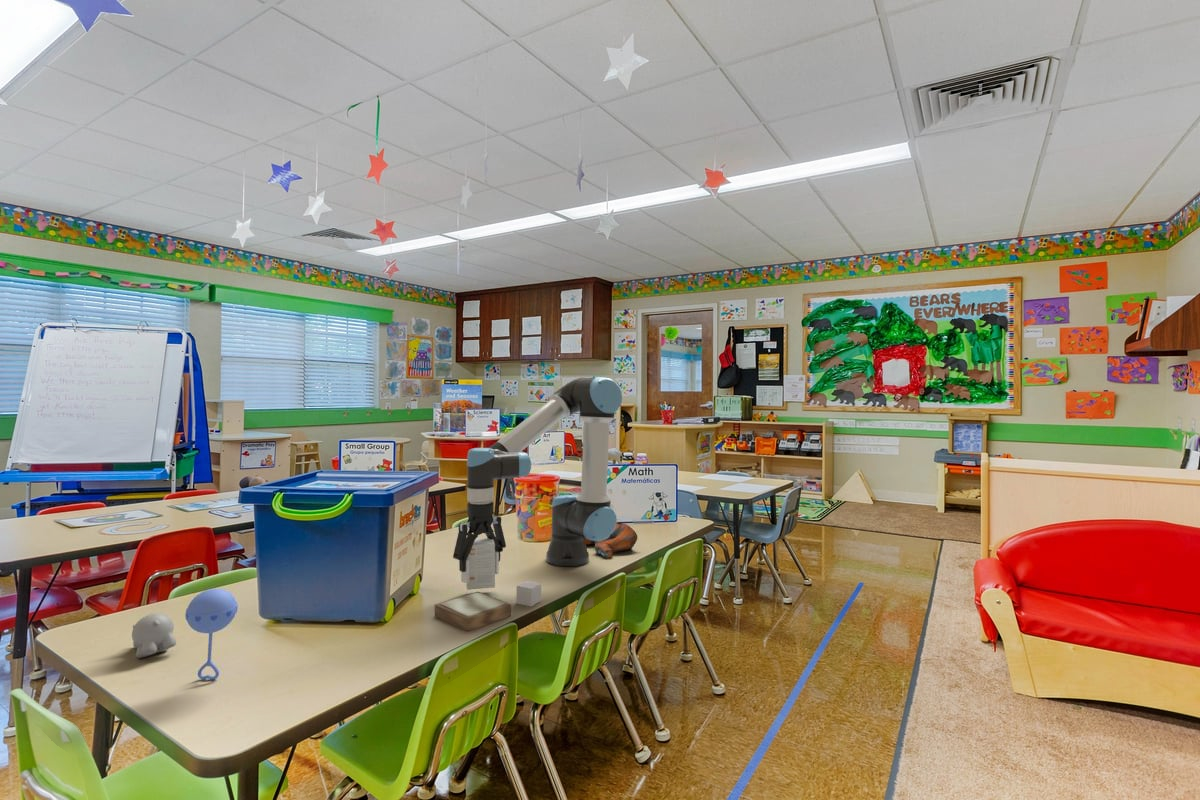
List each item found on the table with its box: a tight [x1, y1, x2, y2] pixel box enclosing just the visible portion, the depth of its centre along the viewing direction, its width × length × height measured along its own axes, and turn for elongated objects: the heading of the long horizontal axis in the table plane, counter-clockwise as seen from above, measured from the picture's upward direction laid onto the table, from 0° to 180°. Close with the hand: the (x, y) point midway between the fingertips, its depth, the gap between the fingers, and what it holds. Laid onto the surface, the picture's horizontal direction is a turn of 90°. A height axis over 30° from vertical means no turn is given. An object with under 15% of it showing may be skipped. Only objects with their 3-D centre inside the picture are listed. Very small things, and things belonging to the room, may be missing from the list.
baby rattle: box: [184, 588, 239, 681], centre depth 114 cm, size 9×9×18 cm
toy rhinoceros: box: [131, 612, 177, 659], centre depth 125 cm, size 7×12×8 cm, turn 56°
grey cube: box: [515, 580, 542, 607], centre depth 161 cm, size 5×5×5 cm
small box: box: [466, 537, 496, 591], centre depth 166 cm, size 8×6×13 cm
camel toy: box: [584, 521, 638, 559], centre depth 219 cm, size 25×13×17 cm
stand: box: [434, 591, 512, 632], centre depth 150 cm, size 14×14×3 cm
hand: (480, 577), depth 166 cm, fingers closed on small box, 10 cm apart
